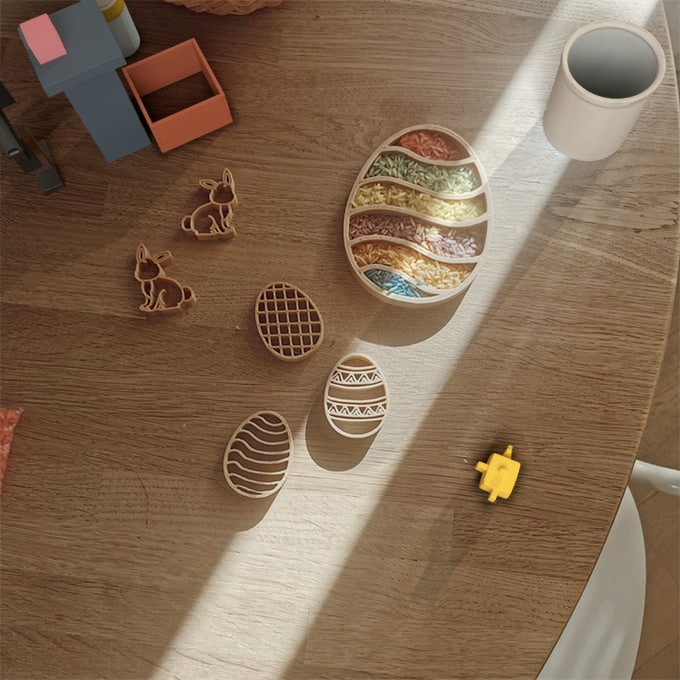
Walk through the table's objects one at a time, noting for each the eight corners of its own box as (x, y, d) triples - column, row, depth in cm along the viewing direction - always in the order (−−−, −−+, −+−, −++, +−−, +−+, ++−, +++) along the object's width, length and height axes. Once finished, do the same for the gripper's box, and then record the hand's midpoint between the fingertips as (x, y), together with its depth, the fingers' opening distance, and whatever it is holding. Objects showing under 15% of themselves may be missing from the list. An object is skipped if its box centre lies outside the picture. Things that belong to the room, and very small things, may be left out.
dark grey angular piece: (48, 200, 124) (18, 163, 113) (30, 155, 127) (-1, 115, 117) (68, 191, 124) (39, 154, 114) (49, 147, 127) (20, 107, 117)
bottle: (144, 58, 133) (116, -6, 118) (106, 67, 132) (74, 3, 118) (139, 28, 135) (110, -38, 121) (101, 37, 135) (69, -29, 121)
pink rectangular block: (40, 64, 103) (27, 44, 99) (32, 44, 104) (18, 24, 101) (67, 53, 104) (55, 33, 100) (58, 33, 105) (46, 12, 101)
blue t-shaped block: (103, 180, 124) (42, 88, 102) (80, 128, 128) (16, 27, 106) (168, 152, 126) (122, 54, 103) (143, 101, 129) (93, -5, 107)
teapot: (483, 442, 106) (488, 434, 101) (522, 457, 105) (528, 450, 100) (464, 493, 104) (469, 488, 99) (503, 509, 103) (509, 505, 98)
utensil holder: (618, 178, 120) (656, 111, 103) (528, 156, 122) (551, 87, 105) (635, 106, 124) (675, 30, 107) (548, 86, 126) (574, 9, 110)
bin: (164, 157, 125) (150, 127, 117) (137, 100, 130) (121, 68, 122) (234, 126, 127) (224, 94, 119) (205, 71, 131) (193, 37, 123)
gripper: (-2, 95, 91) (68, 186, 111) (-55, -37, 100) (19, 70, 120) (-59, 119, 91) (21, 207, 111) (-107, -16, 99) (-25, 88, 119)
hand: (20, 136), depth 115 cm, fingers open, 13 cm apart
